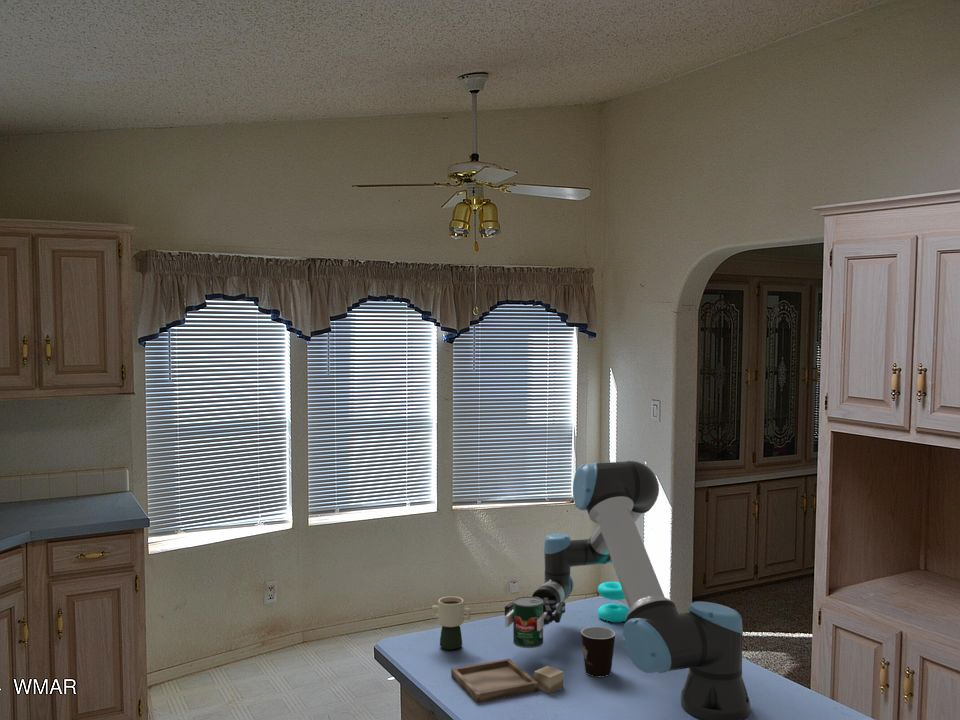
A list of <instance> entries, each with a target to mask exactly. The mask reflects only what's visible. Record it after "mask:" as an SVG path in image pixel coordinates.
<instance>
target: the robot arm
mask: <svg viewBox="0 0 960 720" xmlns="http://www.w3.org/2000/svg"><path fill="white" fill-rule="evenodd" d="M659 492H660V485H659V481H658V478H657V476H656V474H655V473H654V471H653V470H652V469H651V468H650V467H648V465H646V464H644V463H642V462H639V461H634V460H627V461H614V462H613V461H609V462H597V461H594V462H590V463H583V464H581V465H580V466H579V467H578V468H577V469H576V471H575V473H574V477H573V482H572V497H573V501H574V504H575V507H576V508H577V509H578V510H580V511H587V514H588V517H589V519H590V521H592V522H593V523H596V524H598V526H597V528H596V529H595V530H594V532H593V533H592V535H591V536H590V537H589V538H587V539H586V538H584V539H574V540H573V539H572V540H571V537H570V535H569V534H566V533H550V534H548V535H546V536H545V539H544V548H543V549H544V550H543V552H544V553H543V555H544V583H542V585H540V586H539V587H538V588H537V589H536V590H535V591H534V592H533V594H532V595H531V597H537V598H540V599H542V600H543V614H542V615H541V616H540V617H539V618H538V620H537V631H540V630H541V629H542V628H543V629H544V627H545V626H546V625H547V626H548V625H550V623H552V622H554V623H557V624H559V623H560V622H561V620H562V619H561V618H562V616H563V614H564V613H566V602H565V600H567V599H568V598H569V597H570V596H571V594H572V592H573V590H574V580H573V578H572V576H571V567H573V568H574V567H580V566H581V567H583V566H592V565H593V566H594V565H606V564H611V563H612V565H613V568H614V571H615V573H616V577H617V579H618V582H620V585H621V587H622V590H623V593H624V596H625V601H626V603H627V608H628V609H629V612H628V614H627V616H626V620H627V621H625V623H624V625H623V628H622V638H624V639H623V645H624V648H625V652H626V654H627V655H628V658H629V659H630V661H631V662H632V664H633V665H634V666H635V667H636V668H637V669H638V670H640V671H642V672H644V673H647V674H653V673H654V674H655V673H660V674H663V673H667V672H671V671H678V670H684V669H688V673H687V675H686V676H687V677H686V680H685V682H684V683H685V684H684V686H683V688H682V690H681V693H680V704H681V707H682V709H683V710H684V711H685V712H687V713H688V715H689V714H690V715H691V716H692V717H693V716H694V717H695V718H698V719H700V720H745V719H746V718H747V717H749V715H750V713H751V701H750V698H749V695H748V692H747V691H748V690H747V687H746V685H745V682H744V679H743V634H744V630H743V620H742V619H743V618H742V616H741V614H740V613H739V612H738V611H737V610H736V609H733V608H731V607H730V606H726V605H723V604H719V603H715V602H708V601H693V602H691V603H690V604H689V606H688V612H683V613H679V612H678V609H677V607H676V604H675V602H674V601H673V600H671V599H669V598H667V597H665V595H664V592H663V590H662V587H661V585H660V582H659V579H658V577H657V573H656V572H655V569H654V567H653V564H652V561H651V560H650V557H649V554H648V552H647V550H646V547H645V545H644V542H643V539H642V537H641V535H640V533H639V530H638V527H637V524H636V522H637V521H638V519H640V517H641V516H642V515H643V514H646V513H648V512H649V511H651V509H652V508H653V506H654V505H655V504H656V502H657V500H658V497H659V495H660V494H659ZM519 597H520V596H519ZM519 597H517V598H519ZM504 618H505V620H504V621H505V622H504V623H505V625H504V626H505V627H506V628H509V627H510V626H511V625H512V624H513V601H512V602H510V603H508V604H507V605H505V606H504Z"/></svg>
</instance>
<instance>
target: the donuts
mask: <svg viewBox="0 0 960 720" xmlns="http://www.w3.org/2000/svg"><path fill="white" fill-rule="evenodd" d="M597 592H598V594H599V595H600V596H601V597H602V598H604V599H607V600H611V601H621V600H626V598H625V596H624V593H623V590H622V587H621V585H620V582H619V581H606V582H605V581H604V582H602V583H600V584H599V585H598V586H597ZM629 610H630V609H629V607H628V606H626V605H623V604H620V603H615V602H614V603H612V602H611V603H606V604H603V605H601V606H600V607H598V610H597V615H598V617H599V618H600V619H601V620H602V621H605V620H606V621H605V622H608V621H610V622H609V623H624V622H627V620H626V616H627V614H628V612H629ZM623 621H624V622H623Z"/></svg>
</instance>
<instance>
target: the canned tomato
mask: <svg viewBox="0 0 960 720" xmlns="http://www.w3.org/2000/svg"><path fill="white" fill-rule="evenodd" d="M512 600H513V601H512V602H513V623H512V624H513V625H512V626H513V628H512V629H513V630H512V633H513V642H512V643H513V645H514V646H516V647H518V648H522V649H534V648H538V647H542V646H543V644H544V627H543V628H542V629H541V630H540V631H537V620H538V618H539V617H540V616H541V615H542V614H543V600H542V599H540V598H537V597H532V596H527V595H526V596H519V598H518V597H516V598H514V599H512Z"/></svg>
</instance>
